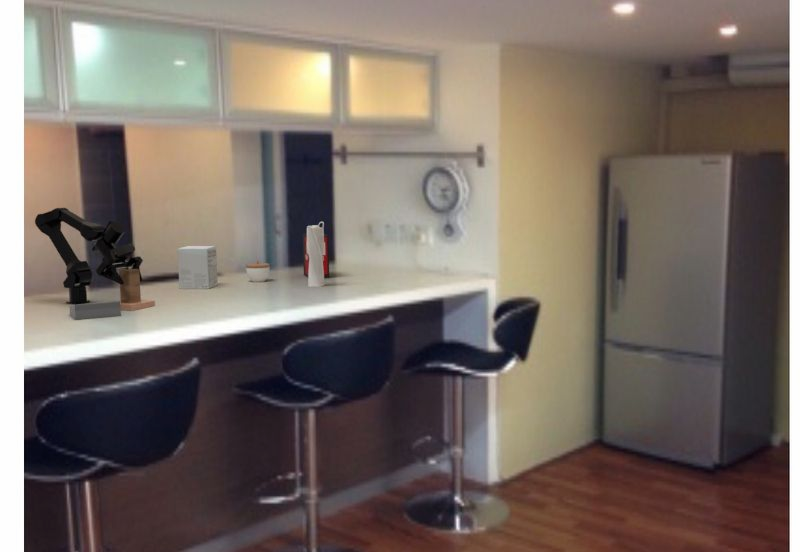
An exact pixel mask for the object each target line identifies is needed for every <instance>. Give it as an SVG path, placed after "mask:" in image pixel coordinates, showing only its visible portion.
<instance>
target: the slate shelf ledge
mask: <svg viewBox="0 0 800 552" xmlns="http://www.w3.org/2000/svg"><path fill="white" fill-rule="evenodd" d="M120 301H121V300H115V301H104V302H103V301H102V302H91V303H90V302H88V303H79V304H74V305H69V315H70V317H72V318H73V319H74V320H76V321H77V320H78V321H79V320H86V319H88V320H89V319H98V318H100V319H101V318H111V317H119V316H122V310H121V306H120Z"/></svg>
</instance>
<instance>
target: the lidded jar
mask: <svg viewBox="0 0 800 552" xmlns="http://www.w3.org/2000/svg"><path fill="white" fill-rule="evenodd" d="M270 266H271V265H270V263H265V262H260V261H259V260H256V262H255V263H254V262H253V263H247V264H245V269H246V271H245V272H246V275H247V277H248V279H249V280H250V281H251V282H253V283H261V282H262V283H263V282H266V280H267V279H268V277H269V275H270Z"/></svg>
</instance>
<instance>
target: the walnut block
mask: <svg viewBox="0 0 800 552" xmlns="http://www.w3.org/2000/svg"><path fill="white" fill-rule="evenodd" d="M118 274H119V275H120V277H121V278H122V280H123V282H124V284H123V285H121V284H119V290H120V291H119V293H120V294H119V295H120V301H121V303H135V302H140V301H141V300H142V297H141V282H140V274H139V269H126V268H125V269H124V268H123V269H118Z"/></svg>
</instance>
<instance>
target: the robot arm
mask: <svg viewBox="0 0 800 552" xmlns="http://www.w3.org/2000/svg"><path fill="white" fill-rule="evenodd" d="M62 222H63V223H65V224H67V225H68V226H70V227H72V228H73V229H75V230H77V231H78V232H79V234H80V236H81V237H82V238H84V240H85V241H87V242H94V241H96V242H95V243H93V244H92V248H91V251H92V252H98V253H99V254H100V255H101V256H102V259H101V262H100V263H99V265H98V266H97V268H96V270H95V272H96V274H97V276H99V277H102V278H106V279H108V280H110V281H113V282H115V283H117V284H119V285H120V284H121V285H123V284H124V282H123V280H122V278H121V277H120V275H119V271H118V270H121V269H124V268H125V269H139V274H140V283H141V282H142V281H143V277H142V273H141V271H140V269H141V268H140V266H141V265H142V263H143V262H144V260H143V259H142V257H141V256H139V255H138V256H137V255H136V256H131V257H130V258H129V256H130V255H131V254H134V252H135V251H136V248H135V246H134V244H133V243H127V244H124V245H120V246H119V247H116V246H115V245H114V244H118V242H119V241H120V239H121V238H122V236H123V235H124V234H125V233H126V229H125V226H123V225H122V224H120V223H118V222H116V221H115V220H109V221H108V223H107V225H106V226H105V227H104V226H103V225H101V224H99V223H95V222H90V221H87V219H86V220H85V219H84V218H82V217H81V216H79V215H77V214H75V213H74V212H73V211H70V210H69V209H68V208H67V207H56V208H53V209H52V210H49V211H47V212H44V213H39V214H37V215H36V217H35V219H34V224H35V226H36V228H38V230H39V232H41V233H42V234H44V235H46V236H48V238H49V239H50V241H51V243H52V244H53V246H54V248H55V250H57V253H58V254H59V256H60V258H61V259H62V260H63V263H64V264H65V266H66V270H65V273H66V278H65V279H64V281H63V282H62V283H63V288H65V289H68V295H69V296H68V297H69V299H68V301H66V302H65V303H66V304H72V305H73V304H74V305H77V304H87V303H90V302H91V300H90V299H88V293H87V287H89V286H91V283H92V278H93V272H92V268H91V267H90V266H89V263H88V262H87V261H86V260H83V261H81V260H79V258H78V256H77V255H76V253H75V252H74V250H73V248H72V246H71V245H70V243H69V241H68V240H67V239H66V237H65V235H64V234H63V232H62ZM128 258H129V259H128ZM127 259H128V261H126V260H127Z"/></svg>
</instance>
